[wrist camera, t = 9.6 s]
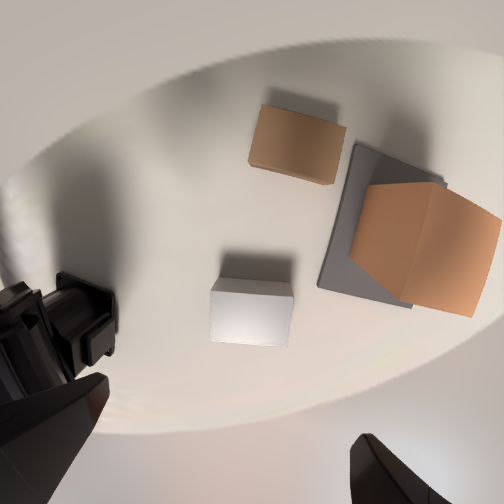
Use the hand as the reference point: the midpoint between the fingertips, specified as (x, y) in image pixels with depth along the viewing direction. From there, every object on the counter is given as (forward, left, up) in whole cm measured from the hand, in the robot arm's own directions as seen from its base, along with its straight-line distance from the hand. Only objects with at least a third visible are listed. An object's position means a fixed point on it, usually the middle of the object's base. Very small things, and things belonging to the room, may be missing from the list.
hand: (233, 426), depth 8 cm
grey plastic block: (0, -1, -12) cm, 12 cm away
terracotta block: (+8, +7, -11) cm, 16 cm away
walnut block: (0, +10, -12) cm, 16 cm away
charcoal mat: (+8, +7, -12) cm, 16 cm away
